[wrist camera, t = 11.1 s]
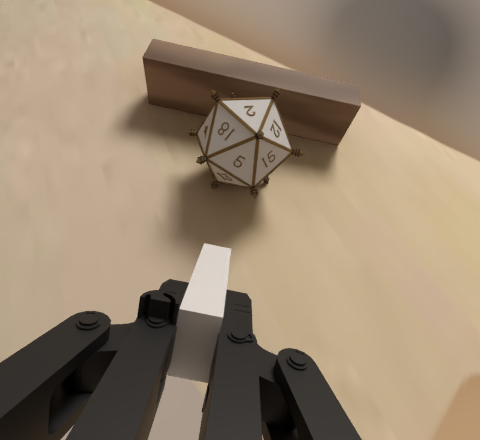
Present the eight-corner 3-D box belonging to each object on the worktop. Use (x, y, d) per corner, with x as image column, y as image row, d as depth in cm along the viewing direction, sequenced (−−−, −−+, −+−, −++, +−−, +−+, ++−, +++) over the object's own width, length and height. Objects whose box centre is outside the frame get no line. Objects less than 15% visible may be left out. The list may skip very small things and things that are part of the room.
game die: (213, 195, 32) (148, 115, 25) (273, 141, 32) (226, 49, 26) (261, 238, 25) (189, 144, 18) (335, 168, 26) (293, 54, 19)
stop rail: (158, 85, 33) (152, 38, 29) (338, 125, 34) (359, 85, 29) (149, 103, 32) (142, 57, 27) (338, 145, 32) (360, 106, 28)
